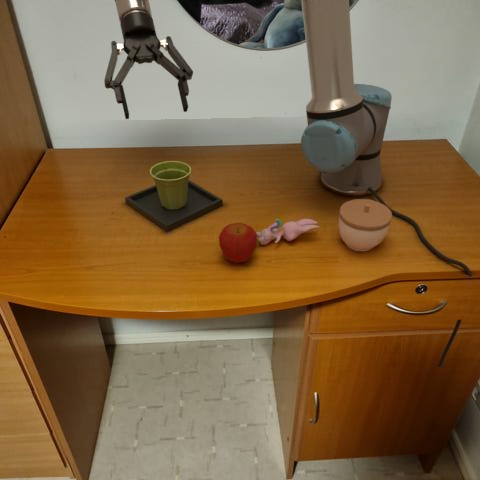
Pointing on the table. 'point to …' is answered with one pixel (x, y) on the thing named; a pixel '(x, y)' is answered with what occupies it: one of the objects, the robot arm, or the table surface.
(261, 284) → the table surface
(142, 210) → the drip tray
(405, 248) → the table surface
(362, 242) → the trinket box
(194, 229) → the table surface
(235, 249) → the apple
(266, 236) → the pink toy figurine
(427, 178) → the table surface
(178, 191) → the plant pot
